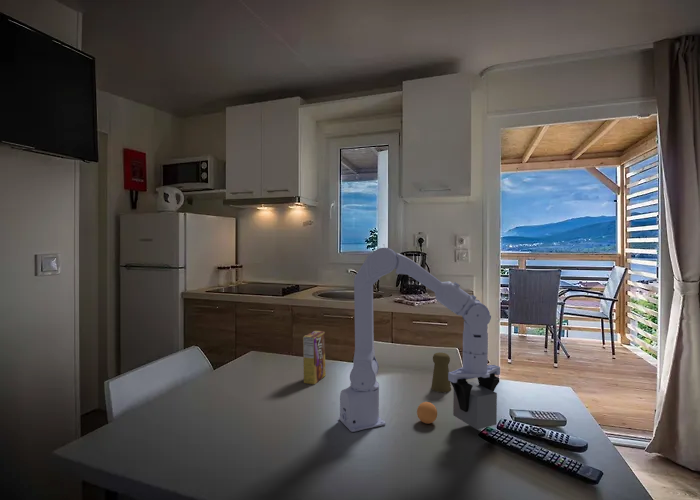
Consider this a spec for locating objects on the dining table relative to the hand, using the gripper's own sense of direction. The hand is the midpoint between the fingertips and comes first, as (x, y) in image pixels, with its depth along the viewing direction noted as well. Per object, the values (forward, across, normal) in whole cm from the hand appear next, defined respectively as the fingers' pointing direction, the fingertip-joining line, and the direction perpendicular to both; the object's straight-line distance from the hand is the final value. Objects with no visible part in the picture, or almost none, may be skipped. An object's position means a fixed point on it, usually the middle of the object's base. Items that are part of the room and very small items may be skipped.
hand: (474, 407), depth 91 cm
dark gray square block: (+3, 0, 0) cm, 3 cm away
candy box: (+6, -23, +49) cm, 54 cm away
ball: (+3, -8, +8) cm, 12 cm away
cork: (+6, +10, +25) cm, 27 cm away
